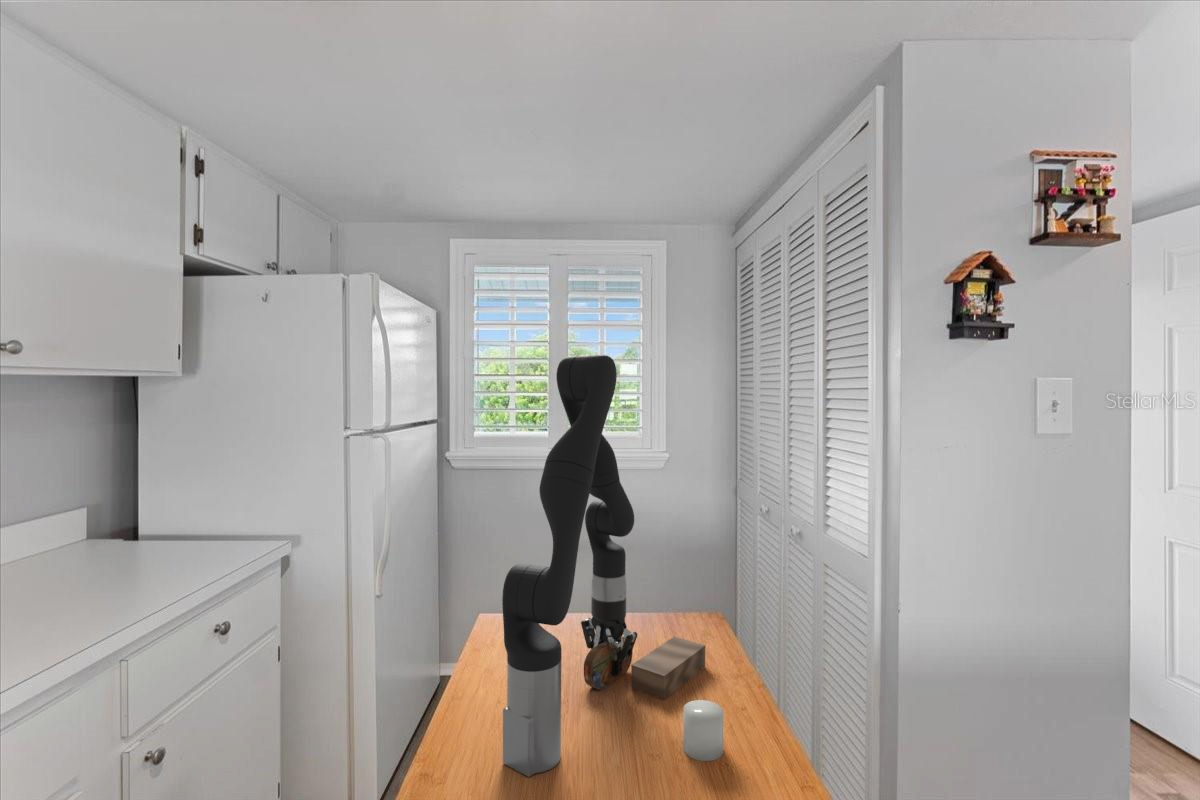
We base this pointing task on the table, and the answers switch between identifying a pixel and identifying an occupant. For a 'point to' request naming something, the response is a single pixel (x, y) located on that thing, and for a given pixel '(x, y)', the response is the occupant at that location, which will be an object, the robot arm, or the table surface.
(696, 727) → the white rounded capsule
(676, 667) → the brown rectangular block
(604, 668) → the tin
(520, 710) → the robot arm
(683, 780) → the table surface
